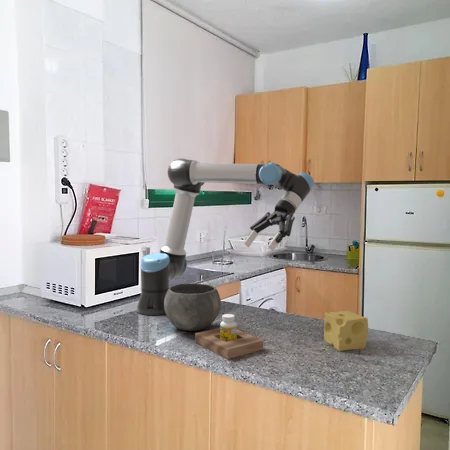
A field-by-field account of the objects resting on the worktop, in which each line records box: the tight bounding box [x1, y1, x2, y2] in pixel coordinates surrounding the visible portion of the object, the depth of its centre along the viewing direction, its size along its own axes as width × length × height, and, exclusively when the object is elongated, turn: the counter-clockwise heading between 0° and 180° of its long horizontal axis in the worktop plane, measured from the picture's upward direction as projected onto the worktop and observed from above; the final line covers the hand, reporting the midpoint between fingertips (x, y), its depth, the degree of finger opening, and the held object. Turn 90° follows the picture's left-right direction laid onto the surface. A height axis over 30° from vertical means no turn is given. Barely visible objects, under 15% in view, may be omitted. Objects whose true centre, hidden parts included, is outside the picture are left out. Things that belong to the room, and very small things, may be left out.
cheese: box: [323, 310, 369, 352], centre depth 138 cm, size 10×11×10 cm
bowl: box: [164, 283, 222, 332], centre depth 154 cm, size 20×20×15 cm
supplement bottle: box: [219, 313, 238, 342], centre depth 136 cm, size 5×5×10 cm
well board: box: [194, 327, 264, 360], centre depth 137 cm, size 18×14×3 cm
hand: (257, 246), depth 156 cm, fingers open, 13 cm apart
